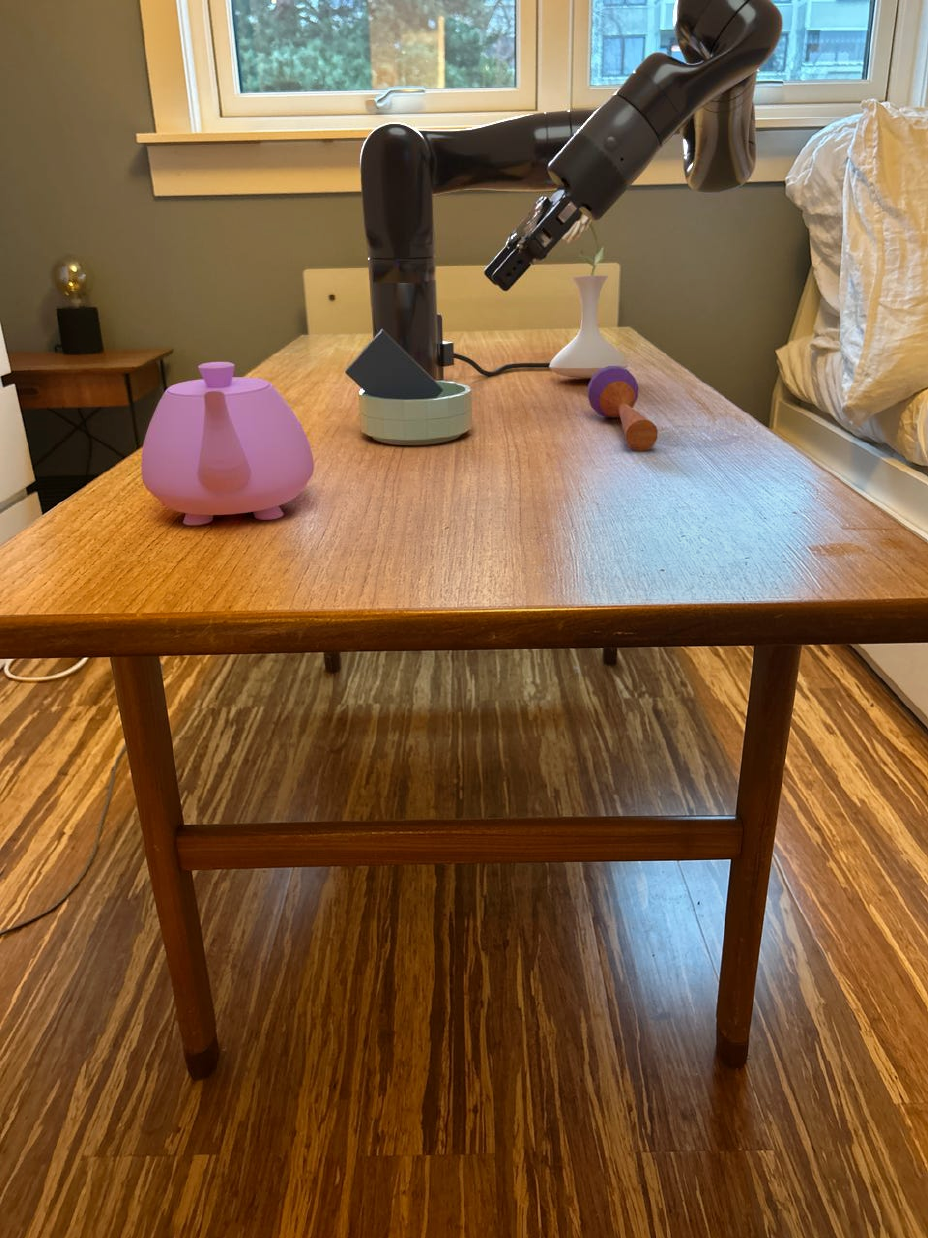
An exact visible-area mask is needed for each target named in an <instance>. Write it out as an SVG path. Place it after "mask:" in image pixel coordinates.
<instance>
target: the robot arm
mask: <svg viewBox="0 0 928 1238" xmlns="http://www.w3.org/2000/svg"><path fill="white" fill-rule="evenodd" d="M672 26H673V28H672V29H673V32H674V37H675V40H676V43H677V45H678V48H679V50H680V52H681V55H683V59H684V61H685V62H684V61H682V60H679V59H678V58H675V57H673V56H671V55H669V54H667V53H664V52H660V51H659V52H653V53H650V54H649V55H648V56H647V57H646V58H644V60H642V61H641V63H639V65H638V66H637V67H636V68H635V69H634V70H633V72H632V73H631V74H630V75H629V76H628V77H627V78H626V80H625V81H624V82H623V83H622V84H621V86H619V88H618V89H617V90H616V91H615V92H614V93H613V95H611V96H610V98H608V100H606V101H605V102H603V104H602V105H601V106H600V107H598V108H590V109H569V110H557V111H547V112H538V113H530V114H524V115H520V116H515V117H511V118H507V119H503V120H498V121H496V122H492V123H491V122H490V123H489V124H488V123H487V124H485V125H481V126H476V127H472V128H466V129H464V128H463V129H419V128H413V127H411V126H410V125H407V124H405V123H401V122H388V123H385V124H383V125H382V124H381V125H380V126H378V127H377V128H375V129H374V130H373V131H372V132H371V133H370V134H368V136H367V138H366V139H365V141H364V142H363V146H362V148H361V152H360V161H359V163H360V164H359V170H360V171H359V173H360V189H361V190H360V191H361V200H362V202H361V203H362V215H363V217H362V218H363V229H364V236H365V241H366V248H367V264H368V265H367V266H368V280H369V297H370V298H369V299H370V313H371V316H370V317H371V332H372V334H371V335H372V339H373V338H374V337H375V336H376V335H377V334H378V333H379V332H380V330H381V329H383V330H384V331H385V332H386V333H387V334H388V335H389V336H390V337H391V338H392V339H393V340H394V341H395V342H396V343H397V344H398V345H399V346H400V347H401V348H402V349H403V350H404V351H405V352H406V353H407V354H408V355H409V356H410V357H411V358H412V359H413V360H415V361H416V362H417V363H418V364H419V365H420V366H421V367H422V368H423V369H424V370H425V371H426V372H427V373H428V374H429V375H430V376H431V377H432V378H433V379H434V380H437V381H445V370H444V368H445V367H450V366H455V359H456V360H460V361H461V362H462V361H463V362H465V363H467V364H468V365H470V366H471V367H472V368H473V369H474V370H476V372H478V373H479V374H481V375H483V376H486V377H494V376H498V375H500V374H501V373H503V372H504V371H507V370H511V369H522V368H525V369H527V368H528V369H529V368H530V369H531V368H533V369H534V368H538V369H542V368H543V369H548V368H549V369H550V367H549V366H550V363H551V362H515V363H508V364H504V365H501V366H500V367H498V368H496V369H495V370H493V371H488V370H485V369H483V368H482V367H481V366H480V365H479V364H478V363H477V362H475V361H474V360H473V359H471V358H469V357H468V356H465V355H463V354H459V353H456V352H455V348H454V342H452V341H444V338H443V336H444V335H443V334H444V333H443V315H441V314H440V313H438V297H437V295H438V294H437V269H436V267H437V265H436V234H435V222H434V220H435V219H434V197H433V196H437V195H443V194H448V193H453V192H454V193H455V192H460V191H470V190H485V191H497V192H498V191H501V192H549V191H551V192H552V191H555V192H554V193H553V194H552V195H551V196H550V197H548V196H546V195H545V196H544V197H543V196H542V197H540V198H539V199H538V200H537V201H536V202H535V204H534V205H533V206H532V208H531V210H530V212H529V213H528V214H526V215H525V216H524V217H523V219H522V220H520V222H519V223H518V225H517V226H516V228H515V229H514V231H512V232H511V233H509V235H508V238H507V240H506V242H505V246H504V247H503V248H502V249H501V250H500V252H499V253H498V254H497V255H496V256H495V257H493V259H492V260H491V262H490V263H489V264H488V265H487V266H486V267H485V268H484V271H483V274H484V276H485V277H486V278H487V279H488V281H490V282H491V284H493V285H494V286H498V288H499V289H501V291H503V292H508V291H509V290H511V288H512V287H513V286H514V285H515V284H516V283H517V282H518V280H519V279H520V278H521V277H522V276H523V275H524V274H525V273H526V272H527V270H529V268H530V267H531V266H534V265H535V264H538V263H540V262H541V261H542V260H545V259H546V258H547V257H548V254H549V253H550V252H551V250H553V249H554V248H555V247H556V245H557V244H558V243H559V242H560V241H561V239H563V238H562V237H563V236H564V235H565V234H566V233H567V232H569V230H570V229H571V227H572V226H573V225H574V223H575V222H576V221H578V220H579V219H580V218H581V215H582V214H584V215H585V216H587V217H588V218H589V219H591V220H592V221H595V222H596V221H599V220H601V219H602V218H603V216H604V215H606V213H608V211H609V210H610V209H611V208H612V206H613V205H614V204H615V203H616V202H617V201H618V200H619V199H620V198H621V197H622V196H623V194H625V192H626V191H627V190H628V189H629V188H630V187H631V186H632V185H633V184H634V183H635V181H636V180H637V179H638V178H639V177H640V176H641V175H642V173H644V171H645V170H646V169H647V168H648V166H649V165H650V164H651V162H652V161H653V160H654V158H655V156H656V155H658V153H659V151H660V150H661V149H662V148H663V147H664V146H665V144H666V143H668V141H669V140H670V139H671V138H672V137H674V136H682V137H681V139H682V143H681V144H682V164H683V165H682V166H683V173H684V178H685V181H686V183H687V185H688V186H689V188H690V189H692V191H695V192H696V193H699V194H704V195H705V194H706V195H717V194H721V193H727V192H730V191H734V190H736V189H738V188H740V187H742V186H744V185H745V184H746V183H748V181H749V180H750V178H751V177H752V176H753V174H754V171H755V168H756V163H757V128H756V127H757V126H756V108H755V101H754V95H755V89H756V85H757V77H758V71H759V70H758V69H760V68H761V67H762V66H763V65H764V64H765V63H766V62H767V61H768V60H769V58H771V56H772V54H773V53H774V52H775V50H776V49H777V47H778V45H779V42H780V40H781V36H782V34H783V33H782V32H783V29H784V28H783V27H784V22H783V15H782V13H781V11H780V9H779V8H778V7H777V5H776V4H775V3H773V2H772V0H676V1H675V4H674V9H673V17H672Z"/></svg>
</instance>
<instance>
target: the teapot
mask: <svg viewBox="0 0 928 1238" xmlns="http://www.w3.org/2000/svg"><path fill="white" fill-rule="evenodd" d="M197 367H198V372H199V373H200V375H201V377H202V379H200V378H199V379H193V380H188V381H183V382H182V381H181V382H179V383H175V384H173V385H170V386H169V387H168V388H167V389H166V390H165V391H164V392H163V394H162V396H161V398H160V399H159V401H158V403H157V406H156V408H155V411H154V413H153V414H152V417H151V419H150V422H149V424H148V427H147V430H146V432H145V436H144V441H143V445H142V446H143V447H142V451H141V470H140V471H141V478H142V483H143V486H144V488H145V489H146V490H147V491H148V492H149V493H150V494H151V495H152V496H153V497H154V498H155V499H156V500H158V501H159V502H160V503H161V504H163V506H165V507H166V508H168V509H170V510H172V511H174V512H178V513H182V514H183V513H184V514H185V516H184V518H183V521H182V524H184V525H186V526H202V525H205V524H209V523H211V522H213V520H214V516H222V515H223V516H224V515H237V514H246V513H252V512H253V515H254V518H255V519H258V520H262V521H263V520H276V519H279V518H282V517H283V516H284V512H283V510H282V508H281V507H280V506H281V505H284V504H286V503H288V502H291V501H293V500H294V499H295V498H297V497H299V495H300V494H301V493H302V491H303V490H304V489H305V487H306V486H307V484H308V483H309V482H310V480H311V478H312V477H313V475H314V471H315V461H314V455H313V451H312V448H311V445H310V441H309V439H308V436H307V434H306V432H305V430H304V428H303V425H302V424H301V421H300V420H299V418H298V417H297V416H296V414H295V412H294V411H293V409H292V408H291V406H290V405H289V404H288V403H287V401H286V399H285V398H284V397H283V396H282V394H281V393H280V392H279V390H277V389H276V387H275V386H274V385H273V384H272V382H269V381H268V380H266V379H262V378H256V377H245V376H244V377H242V376H241V377H240V376H239V377H238V376H236V377H235V376H234V372H235V364H234V363H232V362H229V361H211V362H205V363H201V364H199V365H198V366H197Z"/></svg>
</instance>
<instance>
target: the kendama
mask: <svg viewBox="0 0 928 1238" xmlns="http://www.w3.org/2000/svg"><path fill="white" fill-rule="evenodd" d="M586 393H587V394H586V396H587V399H588V402H589V405H590V407H591V408H592V409H593V411H595V413H596V414H598V415H599V416H601V417H604V418H607V419H609V418H611V419H612V418H613V419H614V418H620V421H621V425H622V430H623V434H624V439H625V442H626V444H627V446H628V448H630V449H631V450H633V451H636V452H645V451H647V450H649V449H651V448H652V447H653V446H654V445H655V444H656V442H657V440H658V435H659V430H658V428H657V426H656V425H655V424H654V422H652V420H649V419H648V418H647V417H646V416H644V415H643V414H641V413H640V412H638V411H637V410H635V409H634V406H635V404H636V402H637V400H638V398H639V385H638V382H637V380H636V377H634V375H633V374H632V373H631V372H630V371H629V370H628V369H627V368H626V369H625V368H622V367H620V366H608V367H605V368H603V369H601V370H599V371H598V372H597V373H596V374H595V375H594V376H593V377H592V378H590V381H589V383H588V385H587V392H586Z"/></svg>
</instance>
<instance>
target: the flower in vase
mask: <svg viewBox="0 0 928 1238" xmlns="http://www.w3.org/2000/svg"><path fill="white" fill-rule="evenodd" d="M588 228H590V231H591V233H592V236H593V238H594V242H595V248H596V249H595V250H596V251H595V258H594V259H592V258H591V257H589V256H588V255H587V254H586V253H585V252H584V250H583V249H581V250H580V251H579V253H578V256H579V258H580V259H581V260H583V261H584V262H586V263H587V264H588V265H590V266H592V269H591V272H590V275H579V276H578V275H577V276H572V277H571V278H572V280H573V281H574V284H575V285H576V287H577V290H578V293H579V297H580V307H581V319H580V320H581V321H580V322H581V323H580V327H579V331H578V333H577V334H576V336H575V337H574V338H573V339H572V340H570V342H569V343H567V344H566V345H565V346H564V347H563V348H562V349H561V350H559V352H557V354H555V356H554V357H553V358H552V359H551V361H550V362H549V363H550V366H549V367H550V368H549V369H550V371H551V372H553V373H555V374H557V375H559V376H564V377H570V378H579V379H591V378H592V377H593V376H594V375H595V374H596V373H597V372H598V371H599V370H601V369H603V368H605V367H608V366H620V367H622V368H625V369H627V368H628V367H629V362H628V359H627V358H626V357H625V355H623V353H621V351H619V349H617V348H616V347H615V346H614V345H613V344H611V342H609V341H608V340H607V339H606V338H605V337H604V336H603V335H602V334H601V331H600V329H599V324H598V309H599V308H598V307H599V299H600V295H601V291H602V288H603V286H604V284H605V283H606V281H607V279H608V278H609V275H594V274H595V271H596V266H597V265H598V264H599V263H601V262H604V260H605V256H604V255H605V254H604V249H605V247H604V246H602V247H601V248H600V246H599V240H598V237H597V233H596V231H595V228H594V225H593V220H591V219H589V218H588V217H587V216H585V215H584V214H582V215H581V218H580V219H579V220H578V221H576V222H575V223H574V225H573V226H572V227H571V229H570V230H569V232H567V233H566V234H565V235H564V236H563V237H562V238H561V239H562V240H564V242H566V244H570V243H571V242H575V241H576V240H577V239H578V238H580V237H581V236H582V235H583V233H584V232H586V231H587V230H588Z"/></svg>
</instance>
